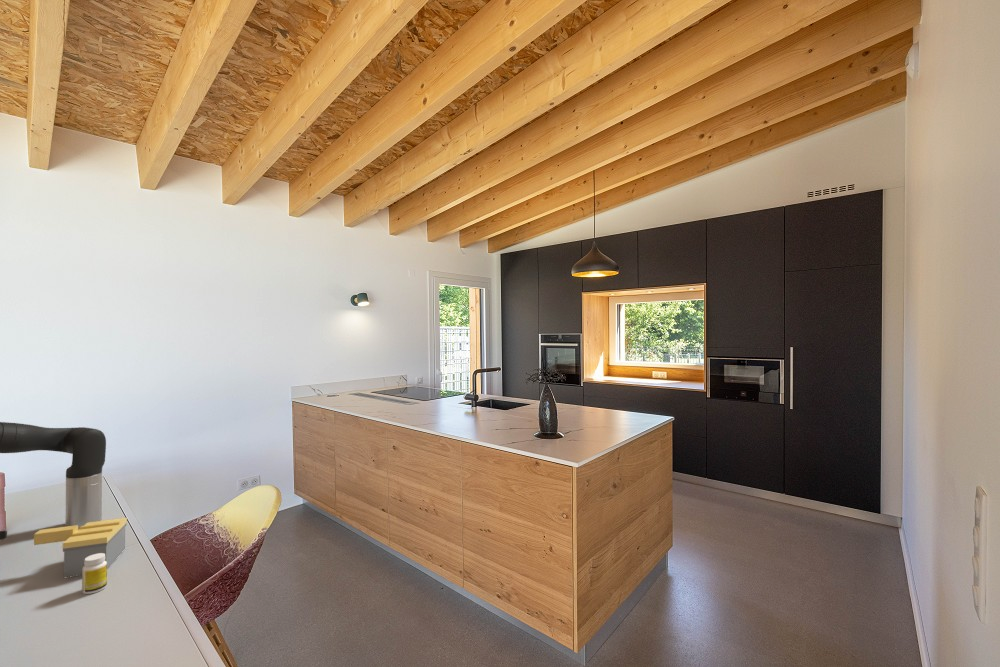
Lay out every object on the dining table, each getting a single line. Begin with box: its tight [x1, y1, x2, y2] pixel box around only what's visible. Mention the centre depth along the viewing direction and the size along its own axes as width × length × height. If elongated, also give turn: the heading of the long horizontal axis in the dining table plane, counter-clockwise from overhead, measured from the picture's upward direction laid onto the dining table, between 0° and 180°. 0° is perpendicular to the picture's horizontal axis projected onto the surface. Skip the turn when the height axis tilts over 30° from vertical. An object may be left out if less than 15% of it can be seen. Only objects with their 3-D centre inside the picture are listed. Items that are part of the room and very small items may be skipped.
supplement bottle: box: [81, 553, 108, 595], centre depth 116 cm, size 5×5×8 cm
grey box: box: [62, 523, 127, 578], centre depth 129 cm, size 14×9×8 cm, turn 23°
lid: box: [33, 517, 128, 550], centre depth 128 cm, size 14×18×3 cm
